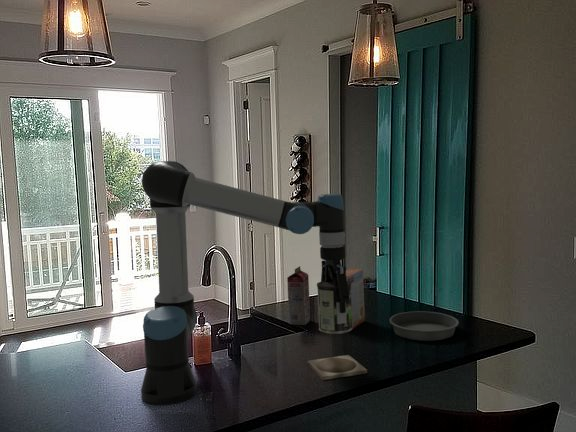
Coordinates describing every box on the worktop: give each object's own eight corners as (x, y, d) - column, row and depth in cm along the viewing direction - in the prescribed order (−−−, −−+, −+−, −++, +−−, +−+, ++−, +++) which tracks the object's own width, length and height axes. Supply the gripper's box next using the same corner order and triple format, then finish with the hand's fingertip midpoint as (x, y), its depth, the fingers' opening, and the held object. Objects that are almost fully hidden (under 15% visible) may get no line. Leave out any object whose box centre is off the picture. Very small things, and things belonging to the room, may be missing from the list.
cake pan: (389, 342, 190) (389, 329, 190) (389, 322, 214) (389, 310, 214) (463, 343, 186) (463, 330, 186) (454, 322, 210) (454, 311, 210)
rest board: (322, 380, 158) (322, 376, 158) (307, 363, 172) (307, 360, 172) (367, 373, 162) (367, 369, 162) (348, 357, 176) (348, 354, 176)
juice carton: (289, 324, 216) (286, 269, 214) (294, 319, 222) (292, 265, 220) (305, 324, 214) (303, 269, 212) (310, 320, 220) (308, 266, 218)
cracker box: (351, 319, 219) (349, 267, 217) (365, 321, 216) (364, 268, 214) (336, 329, 207) (334, 274, 205) (350, 331, 204) (349, 275, 202)
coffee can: (353, 324, 170) (352, 279, 169) (351, 334, 160) (349, 287, 159) (321, 323, 172) (319, 279, 171) (316, 333, 162) (314, 287, 161)
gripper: (359, 249, 154) (362, 327, 156) (330, 240, 175) (333, 308, 177) (334, 252, 152) (337, 330, 154) (308, 242, 173) (311, 310, 175)
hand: (335, 318), depth 166 cm, fingers closed on coffee can, 10 cm apart
